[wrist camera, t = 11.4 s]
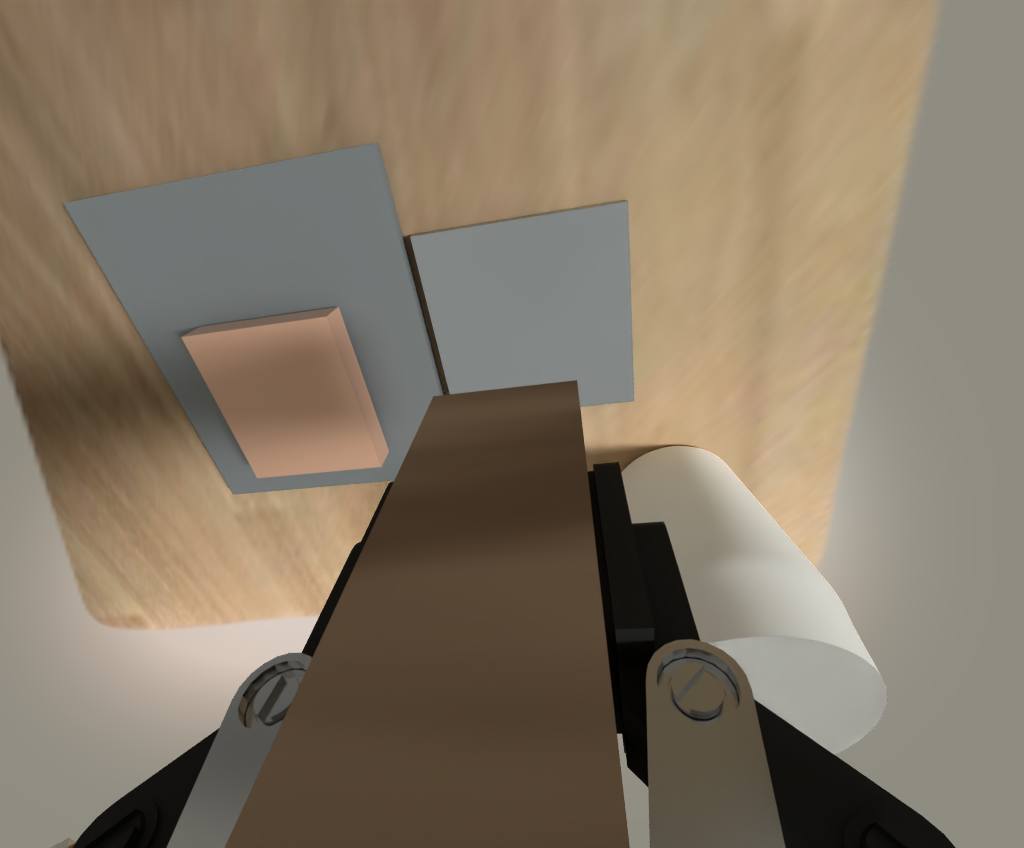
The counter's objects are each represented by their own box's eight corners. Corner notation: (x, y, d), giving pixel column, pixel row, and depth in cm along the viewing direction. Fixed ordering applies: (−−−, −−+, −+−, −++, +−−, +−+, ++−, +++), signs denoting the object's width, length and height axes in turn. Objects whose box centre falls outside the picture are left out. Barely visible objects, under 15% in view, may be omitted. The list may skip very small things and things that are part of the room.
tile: (181, 337, 21) (257, 478, 25) (326, 316, 20) (381, 466, 24) (203, 324, 23) (272, 460, 27) (340, 305, 22) (390, 449, 26)
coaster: (413, 234, 20) (410, 236, 20) (626, 199, 19) (628, 201, 19) (458, 413, 25) (456, 419, 24) (632, 395, 24) (634, 401, 23)
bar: (433, 396, 12) (-85, 1510, 2) (577, 380, 11) (729, 1736, 2) (473, 544, 14) (316, 1367, 5) (592, 537, 14) (687, 1439, 4)
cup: (651, 397, 24) (728, 594, 13) (793, 468, 25) (960, 693, 15) (562, 515, 28) (569, 731, 18) (688, 569, 30) (761, 796, 19)
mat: (75, 201, 21) (62, 202, 20) (378, 143, 19) (373, 143, 18) (238, 488, 29) (233, 494, 28) (462, 468, 27) (461, 474, 26)
